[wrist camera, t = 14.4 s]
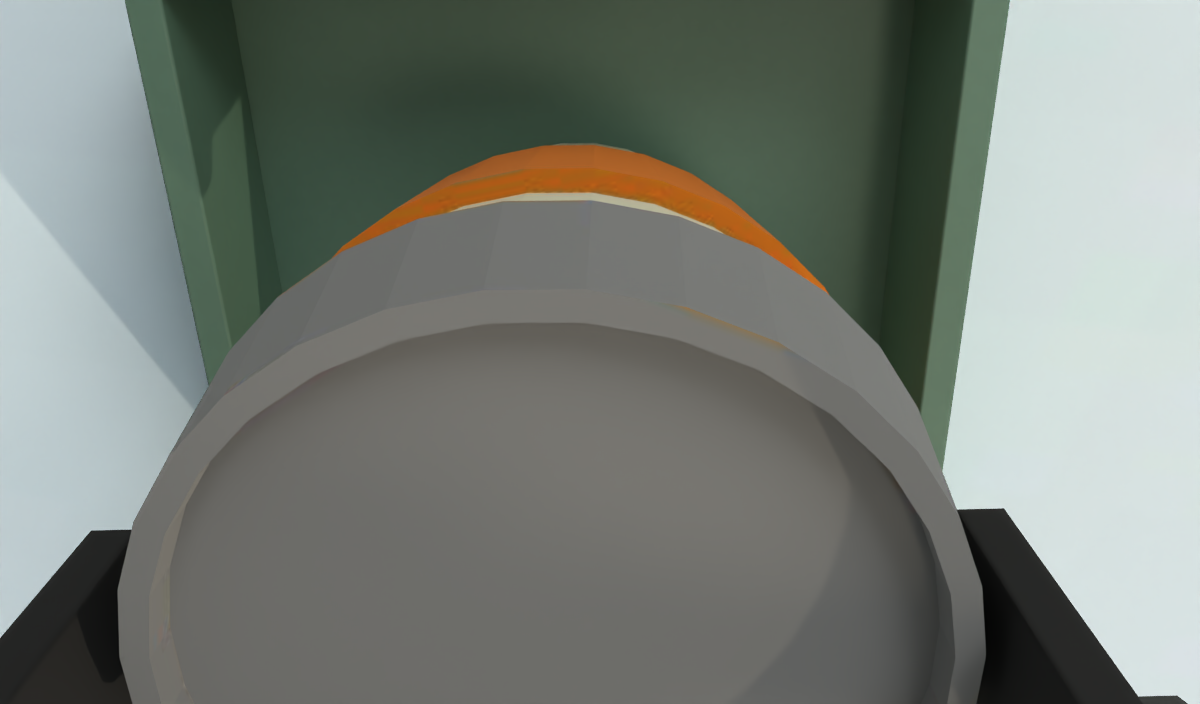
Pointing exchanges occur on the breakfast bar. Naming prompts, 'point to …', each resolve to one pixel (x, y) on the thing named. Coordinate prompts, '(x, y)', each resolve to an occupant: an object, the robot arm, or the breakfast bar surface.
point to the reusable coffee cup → (554, 472)
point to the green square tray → (585, 134)
